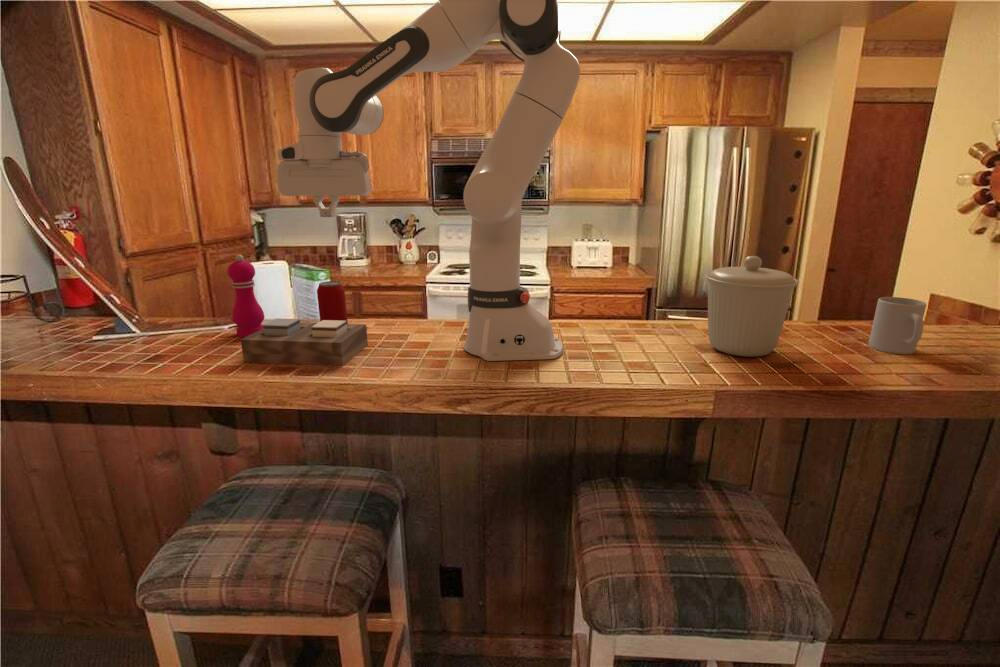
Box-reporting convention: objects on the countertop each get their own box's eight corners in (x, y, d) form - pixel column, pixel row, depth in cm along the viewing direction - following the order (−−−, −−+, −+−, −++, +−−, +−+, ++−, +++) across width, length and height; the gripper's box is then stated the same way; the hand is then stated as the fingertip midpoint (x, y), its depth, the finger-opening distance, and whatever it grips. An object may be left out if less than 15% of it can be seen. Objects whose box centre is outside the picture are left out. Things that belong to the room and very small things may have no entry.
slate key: (302, 340, 114) (299, 319, 113) (289, 347, 109) (286, 325, 108) (279, 339, 115) (276, 318, 113) (266, 347, 110) (262, 325, 108)
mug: (860, 342, 118) (869, 296, 115) (899, 343, 117) (910, 297, 113) (891, 359, 106) (902, 308, 103) (935, 360, 105) (948, 309, 102)
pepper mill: (261, 328, 132) (249, 251, 126) (270, 333, 127) (259, 254, 121) (231, 333, 127) (218, 254, 121) (240, 339, 122) (226, 257, 116)
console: (367, 345, 117) (366, 324, 116) (343, 365, 104) (340, 342, 103) (279, 342, 120) (276, 322, 118) (244, 362, 106) (240, 339, 105)
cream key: (348, 342, 113) (346, 320, 112) (338, 349, 108) (335, 327, 106) (325, 341, 114) (322, 320, 112) (313, 348, 108) (311, 326, 107)
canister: (681, 341, 119) (691, 252, 113) (748, 336, 123) (761, 249, 117) (730, 366, 102) (744, 264, 96) (806, 360, 106) (824, 260, 100)
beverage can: (352, 325, 134) (347, 280, 131) (342, 332, 128) (337, 285, 124) (327, 324, 135) (323, 280, 131) (316, 331, 128) (311, 285, 125)
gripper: (372, 152, 111) (377, 216, 115) (285, 153, 113) (292, 215, 117) (361, 150, 105) (367, 218, 109) (269, 151, 107) (278, 217, 111)
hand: (327, 216), depth 113 cm, fingers closed
